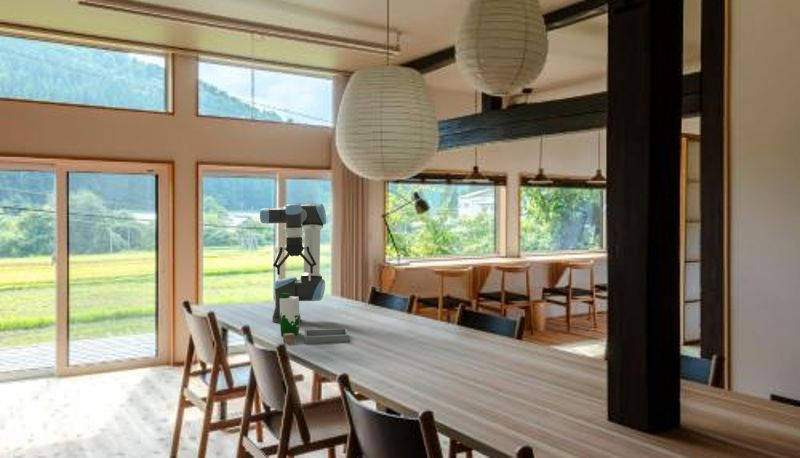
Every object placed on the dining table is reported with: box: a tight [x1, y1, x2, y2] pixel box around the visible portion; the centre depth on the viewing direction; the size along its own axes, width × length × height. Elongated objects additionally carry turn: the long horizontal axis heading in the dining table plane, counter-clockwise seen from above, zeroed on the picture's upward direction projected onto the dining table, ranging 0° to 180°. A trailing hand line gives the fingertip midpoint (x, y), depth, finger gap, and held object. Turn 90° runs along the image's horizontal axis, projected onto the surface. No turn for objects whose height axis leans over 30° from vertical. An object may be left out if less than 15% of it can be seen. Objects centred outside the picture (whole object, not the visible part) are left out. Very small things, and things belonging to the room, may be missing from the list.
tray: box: [303, 328, 350, 345], centre depth 283 cm, size 16×20×3 cm
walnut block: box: [282, 333, 296, 345], centre depth 277 cm, size 4×4×4 cm
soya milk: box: [279, 293, 301, 337], centre depth 294 cm, size 9×9×20 cm
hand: (295, 281), depth 292 cm, fingers open, 13 cm apart
